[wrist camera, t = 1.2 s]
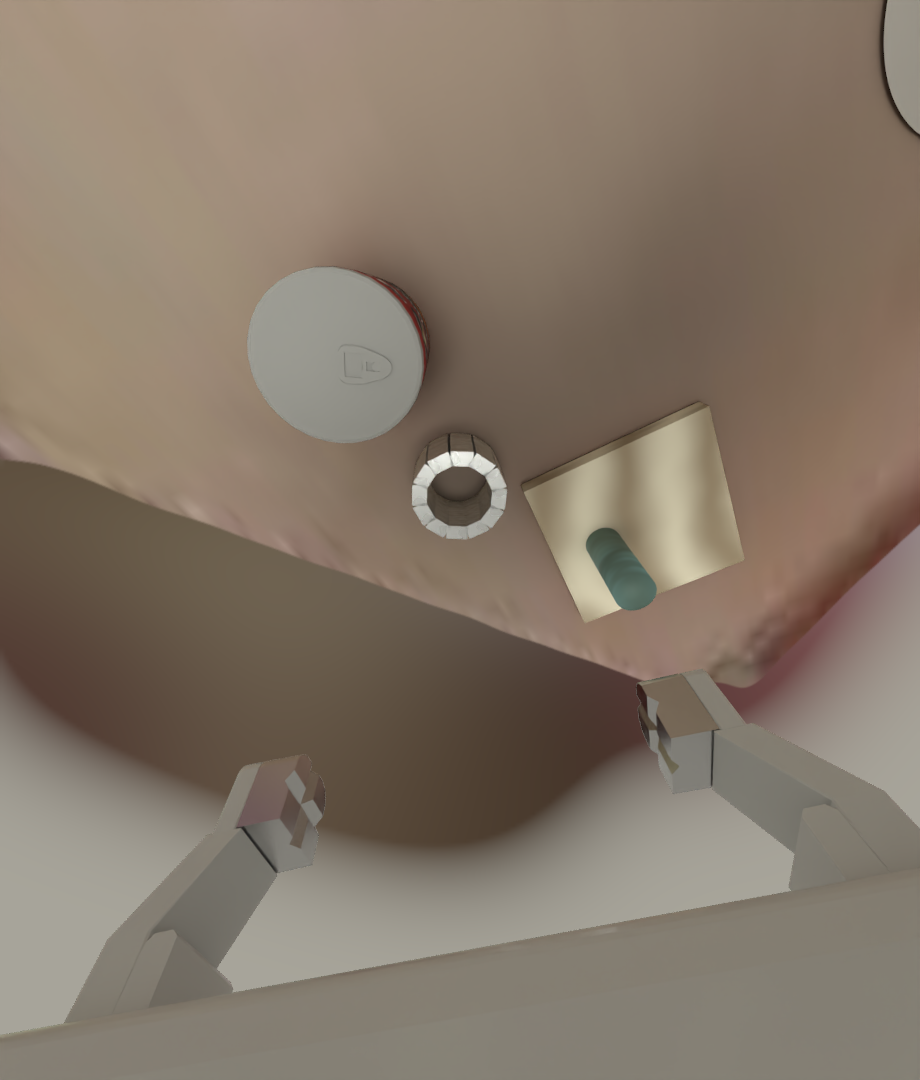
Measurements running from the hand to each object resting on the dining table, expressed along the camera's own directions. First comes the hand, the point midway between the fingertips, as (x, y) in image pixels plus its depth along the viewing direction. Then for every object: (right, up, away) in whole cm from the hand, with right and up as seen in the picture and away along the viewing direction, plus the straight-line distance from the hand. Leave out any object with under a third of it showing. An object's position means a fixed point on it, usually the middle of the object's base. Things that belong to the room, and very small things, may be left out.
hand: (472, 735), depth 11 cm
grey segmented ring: (0, +10, +24) cm, 26 cm away
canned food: (-6, +18, +19) cm, 27 cm away
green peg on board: (+14, +6, +26) cm, 30 cm away
